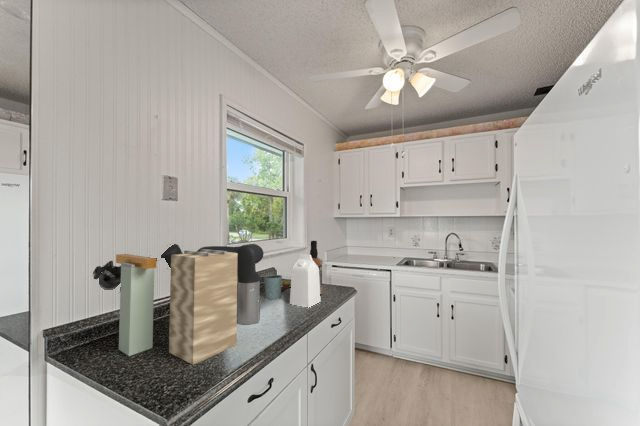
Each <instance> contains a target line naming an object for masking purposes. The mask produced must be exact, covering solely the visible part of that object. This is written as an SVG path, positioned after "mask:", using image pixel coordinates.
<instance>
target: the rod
mask: <svg viewBox="0 0 640 426" xmlns="http://www.w3.org/2000/svg"><path fill="white" fill-rule="evenodd" d="M157 262H158V261H157V258H150V257H149V256H143V255H135V254H130V253H120V254H116V255H115V264H120V265H121V263H129V264H134V265H135V267H139V268H144V269H150V268H154V269H156V268H157Z"/></svg>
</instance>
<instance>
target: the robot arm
mask: <svg viewBox="0 0 640 426" xmlns="http://www.w3.org/2000/svg"><path fill="white" fill-rule="evenodd" d="M173 244H174V245H172V246H171V247H169V248H168V249H167V250H166V251H165V252H164V253H163V254H162V255H161V258H165V260H166V262H167V263H168V265H169V267H170V268H171V255H175V254H184V253H183V251H182V249H181V248H180V246H179V245H178V244H177V243H173ZM200 249H207V250H218V251H227V252H232V253H238V258H237V324H240V325H253V324H257V323H258V324H259V322H260V319H261V296H260V290H261V289H260V282H261V280H260V278H261V276H260V274H259V273H257V271H256V264H258V263H260V262H261V261H262V259H263V258H264V250H263V248H262V247H261V246H259V245H258V244H255V243H249V244H243V245H240V246H227V245H226V246H225V245H223V246H221V245H220V246H219V245H216V246H215V245H211V246H202V247H200V248H199V249H197V250H196V251H197V252H200ZM92 277H93V280H97V279H98V278H99V285H100V287H101V288H103V289H104V290H113V289H115V288H116V287H117V286H118V285H119V284H120V283H121V265H119V266H118V265H117V266H116V265H114V261H113V260H109V261H108V262H106V264H103V266H101V265H98V266H96V267H95V268H94V270H93V272H92Z"/></svg>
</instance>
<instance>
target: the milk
mask: <svg viewBox="0 0 640 426" xmlns="http://www.w3.org/2000/svg"><path fill="white" fill-rule="evenodd" d="M290 282H291V288H290V293H289V294H290V295H289V305H290V304H292V305H291V306H294V305H297V306H296V307H299V306H302V307H301V308H304V307H308V308H307V309H310V308H312V307H311V306H313V305H315V304H317V303H319V302H321V303H322V301H321V300H322V299H321V296H320V278H319V268H318V266H317V265H316V263H315V262H314V261H313V260H312V257H311V255H310V253H301V254H299V257H298V259H297V260H296V262H295V264H294V265H293V267H292V269H291V278H290ZM319 304H320V303H319ZM317 305H318V304H317ZM315 306H316V305H315ZM309 307H310V308H309ZM313 307H314V306H313Z"/></svg>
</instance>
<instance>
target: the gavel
mask: <svg viewBox="0 0 640 426" xmlns="http://www.w3.org/2000/svg"><path fill="white" fill-rule="evenodd" d="M281 286H283V287H281V293H283V292H284V291H286V290H287V289H288V287H289V286H291V280H290V281H289V280H288V281H287V280H282V281H281ZM286 288H287V289H286ZM282 291H283V292H282Z"/></svg>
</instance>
